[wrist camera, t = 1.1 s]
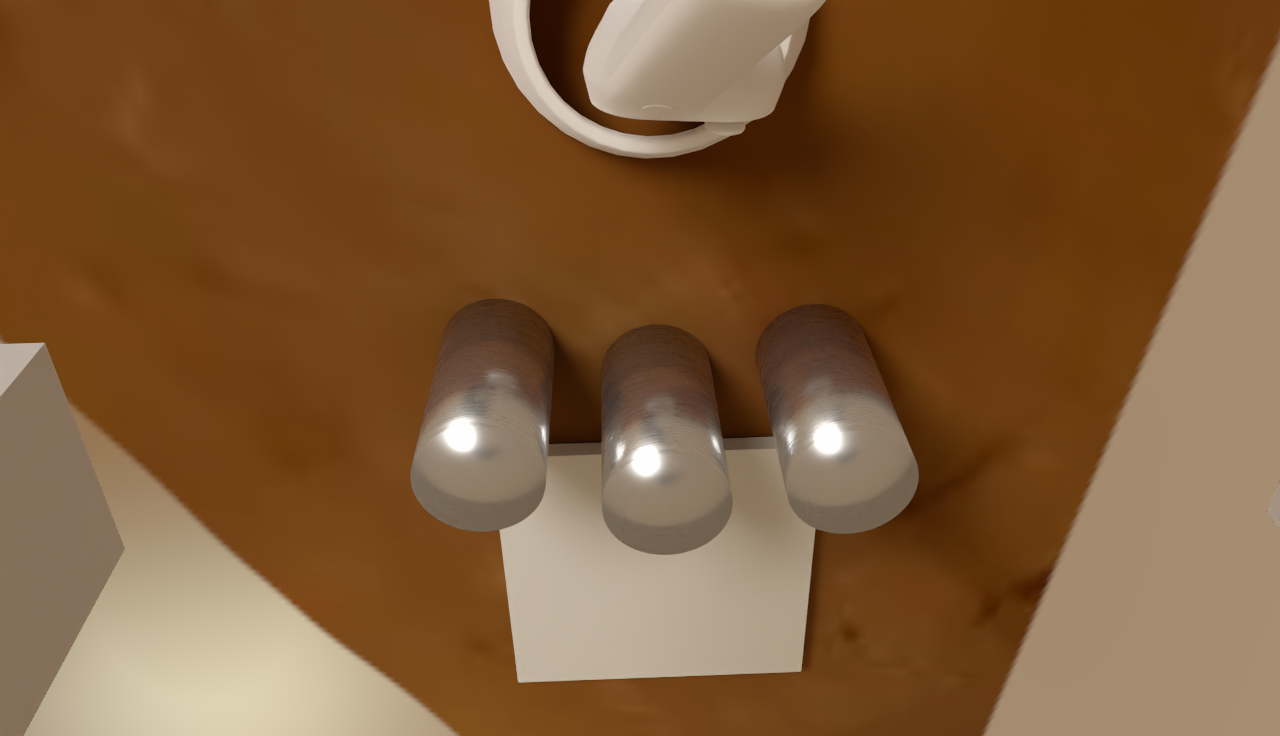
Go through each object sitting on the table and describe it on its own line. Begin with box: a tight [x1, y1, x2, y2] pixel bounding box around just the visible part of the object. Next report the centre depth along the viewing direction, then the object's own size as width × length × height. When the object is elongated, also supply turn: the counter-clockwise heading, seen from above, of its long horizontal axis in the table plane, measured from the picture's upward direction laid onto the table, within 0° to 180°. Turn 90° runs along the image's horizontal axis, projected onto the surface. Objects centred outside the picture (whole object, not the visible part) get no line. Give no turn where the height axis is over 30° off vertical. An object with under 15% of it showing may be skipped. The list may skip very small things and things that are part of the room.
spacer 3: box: [756, 304, 919, 534], centre depth 28 cm, size 3×3×6 cm
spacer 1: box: [411, 299, 555, 532], centre depth 27 cm, size 3×3×6 cm
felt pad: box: [500, 437, 815, 682], centre depth 34 cm, size 10×10×1 cm
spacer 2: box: [601, 325, 733, 555], centre depth 28 cm, size 3×3×6 cm
